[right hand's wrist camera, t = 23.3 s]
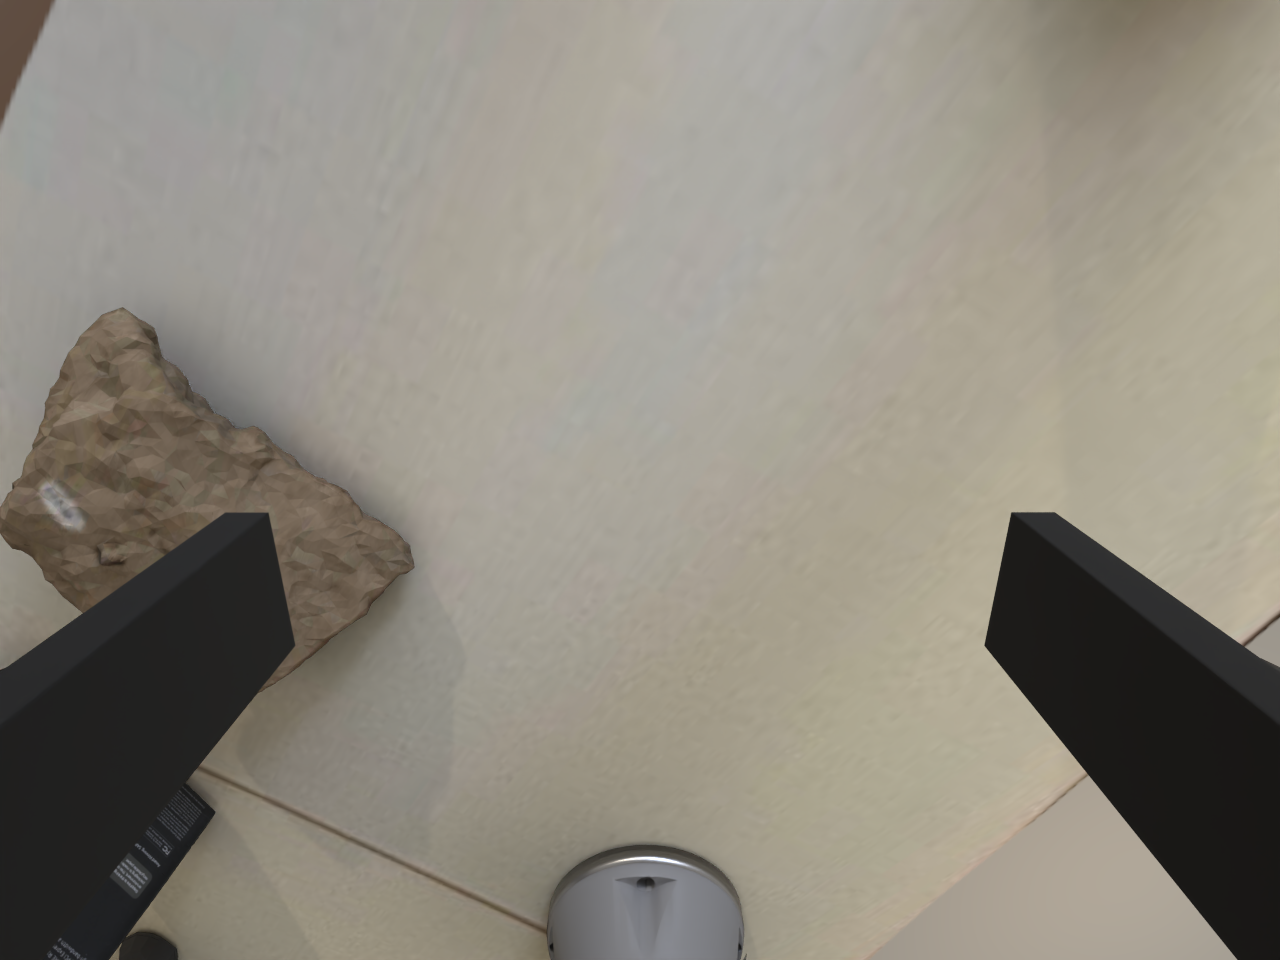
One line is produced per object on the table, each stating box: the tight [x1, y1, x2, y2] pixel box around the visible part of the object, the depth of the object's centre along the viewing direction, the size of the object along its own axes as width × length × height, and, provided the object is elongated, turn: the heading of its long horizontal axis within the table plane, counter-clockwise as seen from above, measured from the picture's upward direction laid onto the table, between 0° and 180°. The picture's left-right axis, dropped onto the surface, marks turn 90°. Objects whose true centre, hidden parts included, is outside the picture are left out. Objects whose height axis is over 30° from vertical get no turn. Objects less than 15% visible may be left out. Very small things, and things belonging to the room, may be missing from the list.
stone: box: [0, 307, 414, 693], centre depth 41 cm, size 21×15×6 cm
